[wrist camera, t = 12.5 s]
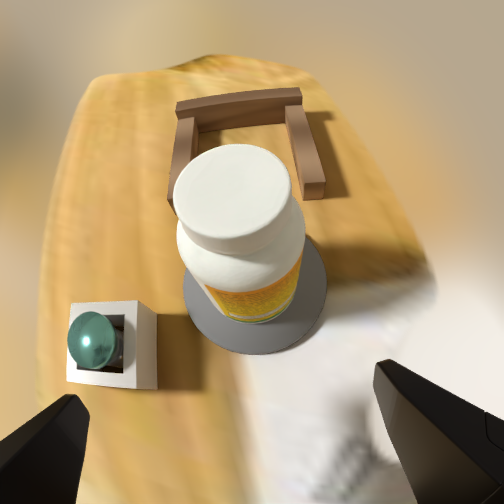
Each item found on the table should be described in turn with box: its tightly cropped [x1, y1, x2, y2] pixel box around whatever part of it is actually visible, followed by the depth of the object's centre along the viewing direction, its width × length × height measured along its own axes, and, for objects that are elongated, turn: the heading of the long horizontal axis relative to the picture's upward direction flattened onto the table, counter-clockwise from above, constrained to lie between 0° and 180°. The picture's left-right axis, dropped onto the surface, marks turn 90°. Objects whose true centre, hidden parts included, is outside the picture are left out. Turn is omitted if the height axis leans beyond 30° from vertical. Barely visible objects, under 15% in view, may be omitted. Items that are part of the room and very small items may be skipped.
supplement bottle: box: [173, 144, 305, 324], centre depth 14 cm, size 5×5×10 cm
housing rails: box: [167, 87, 326, 215], centre depth 22 cm, size 10×11×3 cm
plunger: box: [67, 311, 124, 369], centre depth 15 cm, size 3×3×4 cm
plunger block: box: [67, 300, 158, 390], centre depth 16 cm, size 5×5×3 cm
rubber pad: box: [183, 236, 327, 355], centre depth 18 cm, size 9×9×1 cm
